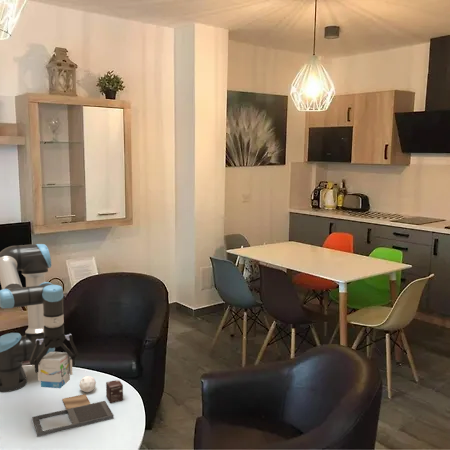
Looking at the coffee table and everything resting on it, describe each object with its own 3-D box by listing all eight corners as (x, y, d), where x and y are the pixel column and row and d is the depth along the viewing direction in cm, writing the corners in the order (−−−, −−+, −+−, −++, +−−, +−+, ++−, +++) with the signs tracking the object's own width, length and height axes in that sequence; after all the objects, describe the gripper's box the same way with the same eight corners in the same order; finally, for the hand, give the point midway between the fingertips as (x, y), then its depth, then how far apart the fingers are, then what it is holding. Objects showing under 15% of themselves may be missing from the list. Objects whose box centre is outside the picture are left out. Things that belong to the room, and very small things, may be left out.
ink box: (60, 388, 197) (59, 360, 196) (40, 387, 198) (38, 359, 197) (70, 379, 205) (69, 352, 204) (51, 378, 207) (49, 350, 205)
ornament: (97, 393, 229) (88, 383, 224) (83, 396, 231) (74, 387, 226) (100, 379, 234) (91, 370, 230) (86, 383, 236) (77, 374, 231)
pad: (62, 400, 222) (62, 398, 222) (85, 395, 226) (85, 393, 226) (67, 411, 213) (67, 409, 213) (90, 406, 218) (90, 404, 218)
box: (109, 403, 221) (109, 387, 219) (106, 397, 226) (105, 382, 225) (123, 400, 224) (123, 385, 222) (119, 394, 229) (119, 379, 228)
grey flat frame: (37, 436, 195) (37, 433, 194) (32, 420, 206) (32, 416, 206) (113, 418, 209) (113, 414, 209) (105, 403, 220) (105, 400, 220)
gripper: (22, 332, 189) (24, 386, 193) (86, 323, 200) (87, 374, 204) (20, 325, 196) (22, 378, 200) (82, 317, 207) (83, 367, 211)
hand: (55, 376), depth 202 cm, fingers closed on ink box, 11 cm apart
